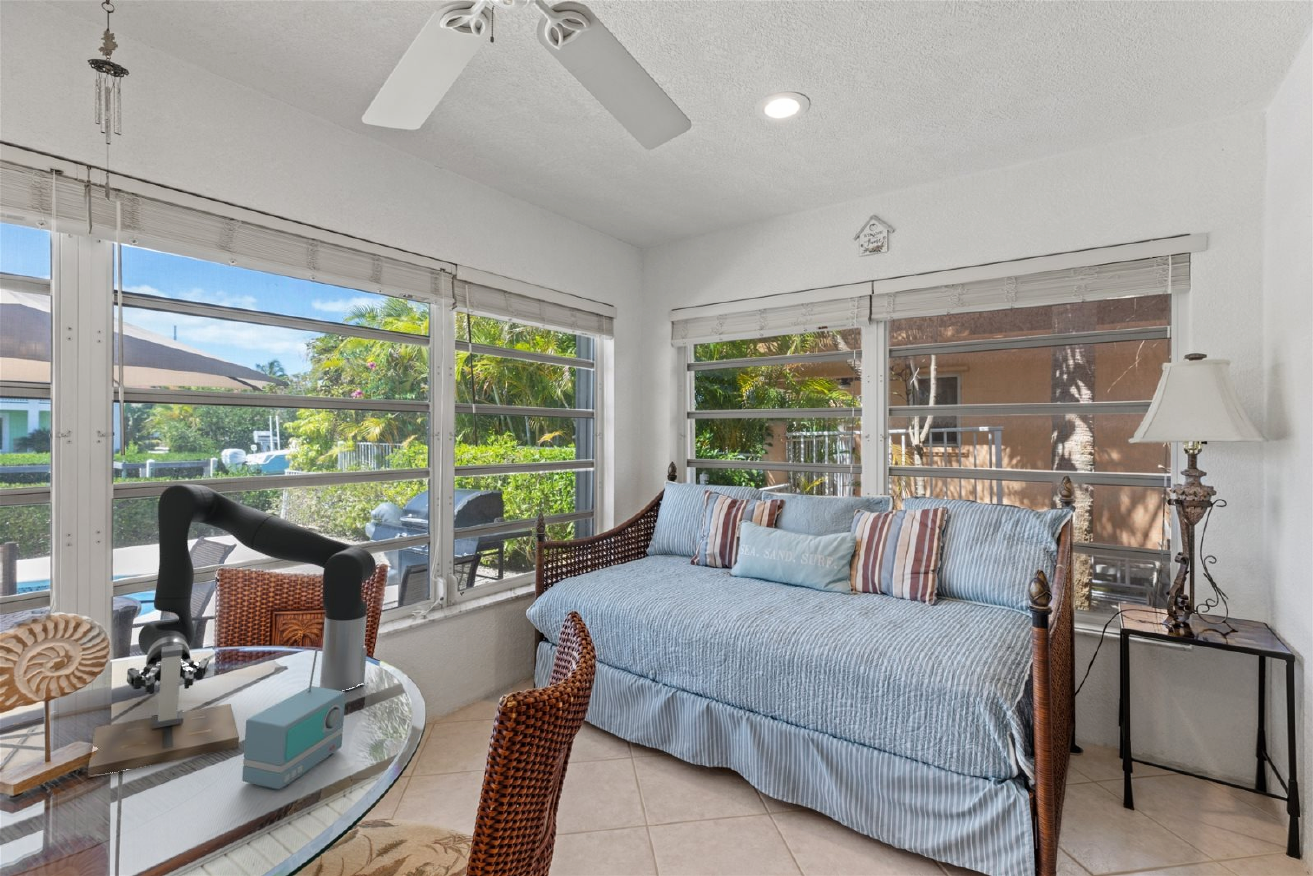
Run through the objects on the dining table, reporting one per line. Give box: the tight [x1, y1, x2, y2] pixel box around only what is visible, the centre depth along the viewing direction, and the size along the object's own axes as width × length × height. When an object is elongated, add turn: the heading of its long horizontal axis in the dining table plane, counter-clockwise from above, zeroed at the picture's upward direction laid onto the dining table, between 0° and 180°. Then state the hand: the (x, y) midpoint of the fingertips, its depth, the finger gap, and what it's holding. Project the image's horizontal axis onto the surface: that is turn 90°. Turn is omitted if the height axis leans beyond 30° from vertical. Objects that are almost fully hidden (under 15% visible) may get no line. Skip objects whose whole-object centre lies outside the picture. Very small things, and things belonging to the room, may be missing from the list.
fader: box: [150, 645, 184, 729], centre depth 127 cm, size 5×4×15 cm
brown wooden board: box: [87, 703, 240, 777], centre depth 124 cm, size 22×17×2 cm
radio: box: [241, 648, 346, 790], centre depth 118 cm, size 16×9×20 cm, turn 168°
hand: (170, 686), depth 125 cm, fingers open, 5 cm apart
